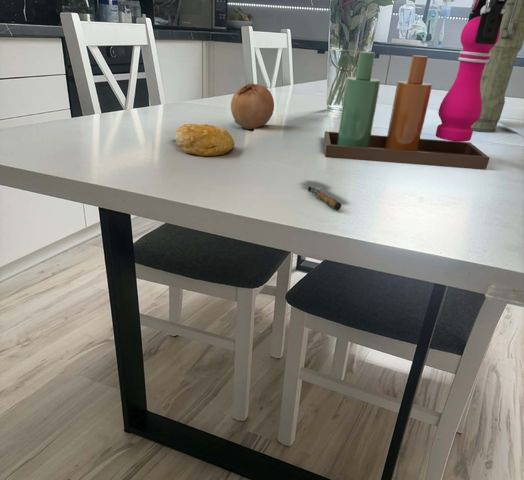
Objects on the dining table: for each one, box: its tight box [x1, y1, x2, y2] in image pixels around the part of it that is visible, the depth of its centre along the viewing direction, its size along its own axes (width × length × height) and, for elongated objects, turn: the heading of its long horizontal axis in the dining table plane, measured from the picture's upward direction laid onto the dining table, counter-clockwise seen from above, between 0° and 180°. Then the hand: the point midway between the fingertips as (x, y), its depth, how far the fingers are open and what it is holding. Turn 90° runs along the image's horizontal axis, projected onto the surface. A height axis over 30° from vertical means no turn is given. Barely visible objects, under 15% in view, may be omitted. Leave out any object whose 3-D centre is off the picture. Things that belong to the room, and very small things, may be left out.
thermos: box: [471, 0, 524, 133], centre depth 113 cm, size 9×12×35 cm
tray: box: [323, 130, 491, 171], centre depth 90 cm, size 29×13×3 cm, turn 85°
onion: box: [230, 82, 275, 130], centre depth 104 cm, size 10×9×10 cm
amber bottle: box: [385, 54, 433, 151], centre depth 86 cm, size 6×6×16 cm
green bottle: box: [337, 51, 381, 147], centre depth 87 cm, size 6×6×16 cm
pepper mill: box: [435, 5, 500, 142], centre depth 83 cm, size 7×7×20 cm
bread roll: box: [174, 123, 235, 157], centre depth 86 cm, size 10×11×5 cm
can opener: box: [307, 185, 342, 211], centre depth 67 cm, size 9×2×1 cm, turn 16°
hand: (478, 41), depth 80 cm, fingers closed on pepper mill, 6 cm apart
